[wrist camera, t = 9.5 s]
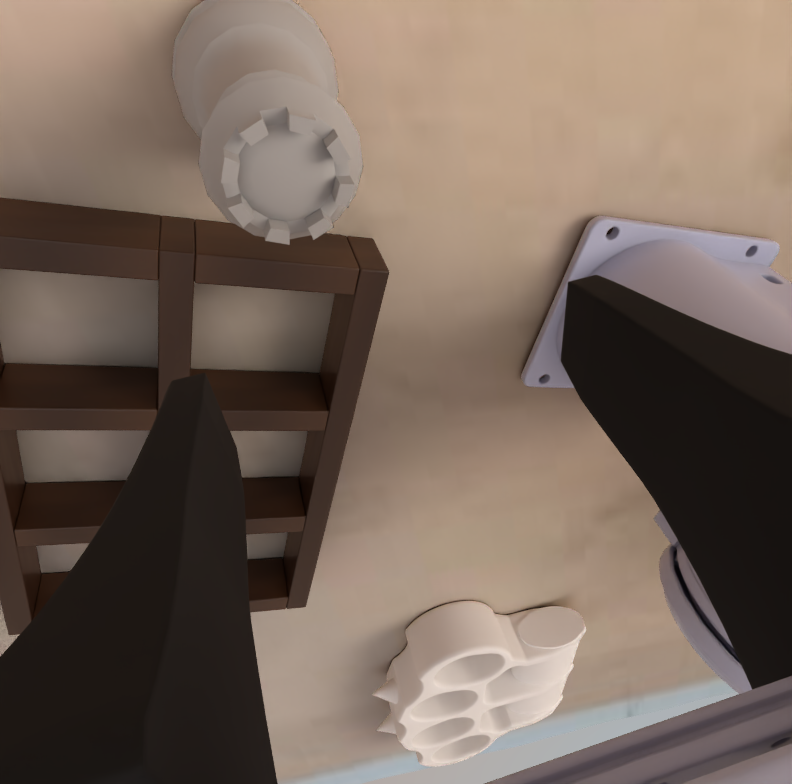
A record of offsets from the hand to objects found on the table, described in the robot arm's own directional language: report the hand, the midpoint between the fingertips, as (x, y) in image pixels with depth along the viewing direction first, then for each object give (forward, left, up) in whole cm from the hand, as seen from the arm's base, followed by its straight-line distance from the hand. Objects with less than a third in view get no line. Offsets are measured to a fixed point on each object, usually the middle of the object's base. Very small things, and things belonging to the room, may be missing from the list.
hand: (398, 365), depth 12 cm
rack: (+4, +12, -10) cm, 16 cm away
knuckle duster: (-16, +34, -11) cm, 39 cm away
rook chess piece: (+2, -2, -11) cm, 11 cm away
